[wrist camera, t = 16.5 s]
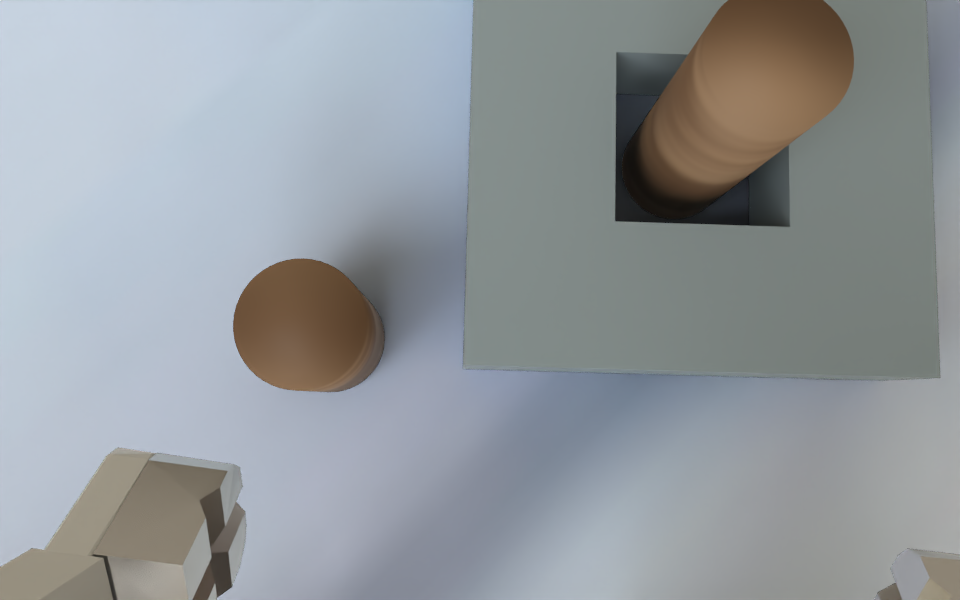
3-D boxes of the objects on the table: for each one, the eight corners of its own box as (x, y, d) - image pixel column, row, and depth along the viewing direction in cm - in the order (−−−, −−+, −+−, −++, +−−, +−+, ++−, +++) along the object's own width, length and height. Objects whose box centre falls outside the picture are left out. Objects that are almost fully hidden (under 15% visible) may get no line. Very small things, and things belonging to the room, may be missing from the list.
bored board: (880, 380, 32) (939, 378, 28) (462, 368, 32) (463, 364, 28) (869, -17, 34) (923, -71, 30) (474, -32, 34) (476, -89, 30)
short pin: (382, 393, 32) (363, 392, 25) (275, 390, 32) (229, 388, 25) (386, 288, 32) (369, 260, 26) (281, 285, 32) (237, 256, 26)
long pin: (723, 220, 33) (856, 132, 22) (621, 217, 33) (703, 127, 22) (722, 121, 33) (851, -15, 22) (621, 118, 33) (702, -19, 22)
